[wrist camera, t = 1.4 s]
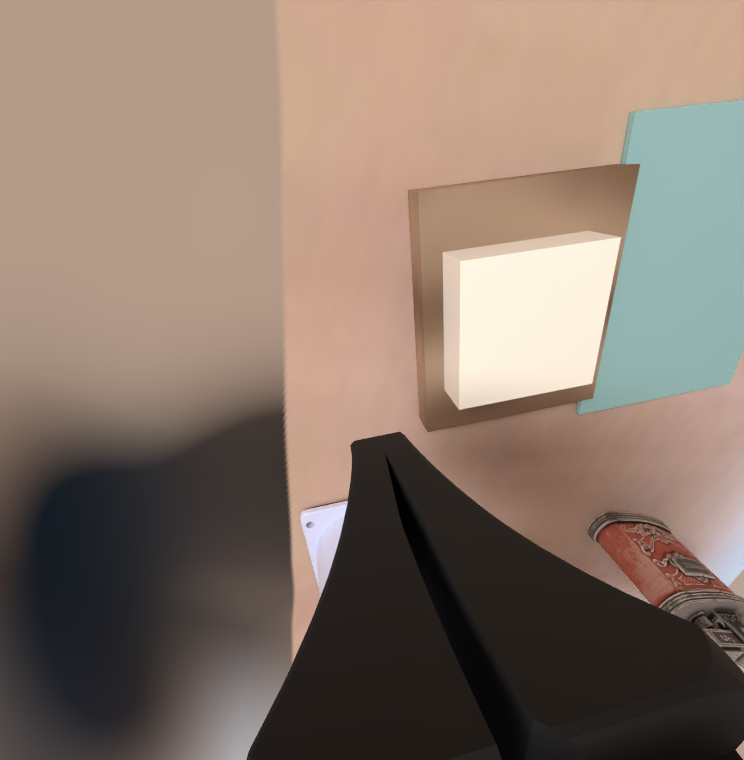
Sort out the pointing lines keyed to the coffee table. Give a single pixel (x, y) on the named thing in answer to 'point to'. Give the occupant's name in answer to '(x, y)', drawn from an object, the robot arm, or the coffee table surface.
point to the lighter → (672, 576)
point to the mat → (678, 259)
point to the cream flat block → (525, 316)
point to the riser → (496, 226)
